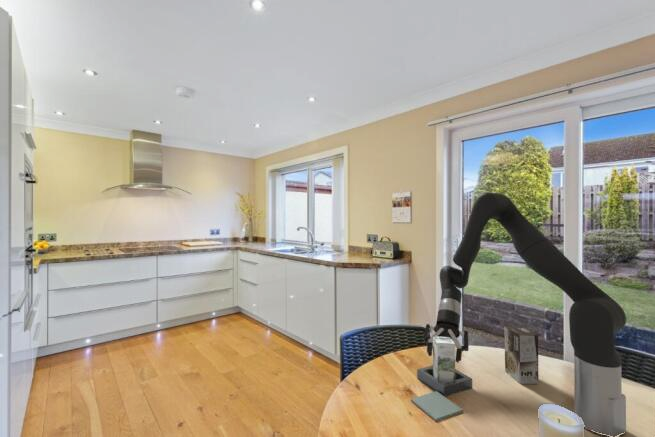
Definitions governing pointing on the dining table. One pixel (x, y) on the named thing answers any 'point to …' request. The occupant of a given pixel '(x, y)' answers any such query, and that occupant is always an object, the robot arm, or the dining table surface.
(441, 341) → the syrup box
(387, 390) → the dining table surface
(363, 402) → the dining table surface
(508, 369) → the coffee box
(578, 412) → the robot arm
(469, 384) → the socket block
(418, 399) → the slate coaster
